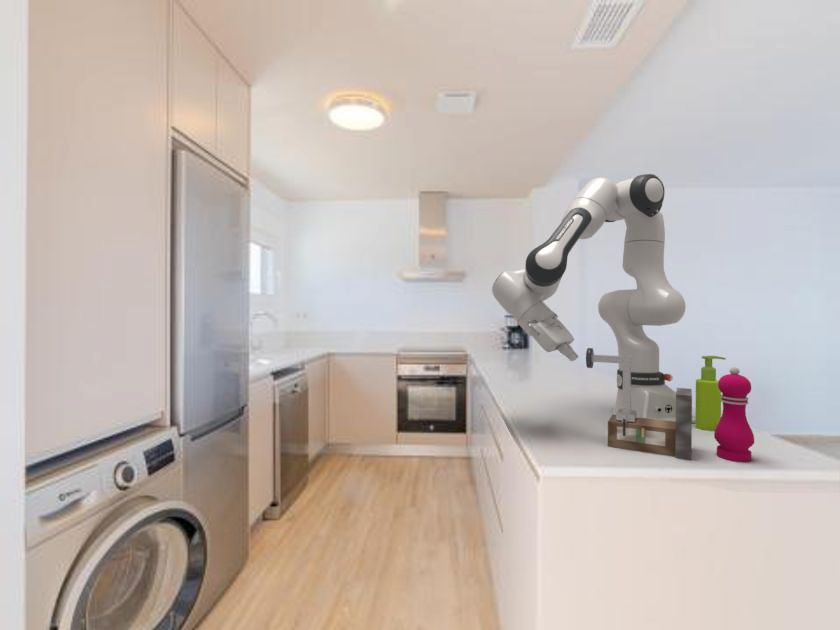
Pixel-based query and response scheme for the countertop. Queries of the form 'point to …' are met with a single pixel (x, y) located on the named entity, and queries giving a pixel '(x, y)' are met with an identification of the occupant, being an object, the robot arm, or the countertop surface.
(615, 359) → the plunger
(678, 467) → the countertop surface
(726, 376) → the pepper mill
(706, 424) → the soap dispenser
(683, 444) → the stand
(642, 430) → the peak needle
